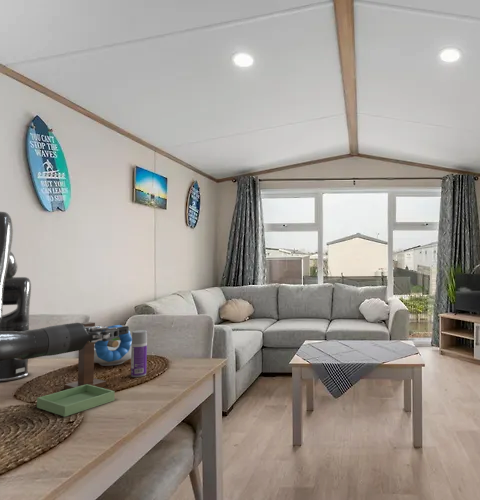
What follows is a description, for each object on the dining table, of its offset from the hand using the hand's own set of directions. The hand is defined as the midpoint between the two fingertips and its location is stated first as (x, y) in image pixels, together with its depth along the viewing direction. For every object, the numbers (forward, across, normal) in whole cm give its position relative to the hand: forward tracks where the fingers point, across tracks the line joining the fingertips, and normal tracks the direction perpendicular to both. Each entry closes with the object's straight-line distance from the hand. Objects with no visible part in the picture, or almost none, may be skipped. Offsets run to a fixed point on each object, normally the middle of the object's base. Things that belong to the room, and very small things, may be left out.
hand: (123, 329), depth 118 cm
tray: (-12, +2, +19) cm, 22 cm away
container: (+13, +11, +19) cm, 26 cm away
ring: (-3, 0, +4) cm, 5 cm away
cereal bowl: (+18, +33, +19) cm, 42 cm away
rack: (-3, +9, +19) cm, 21 cm away
